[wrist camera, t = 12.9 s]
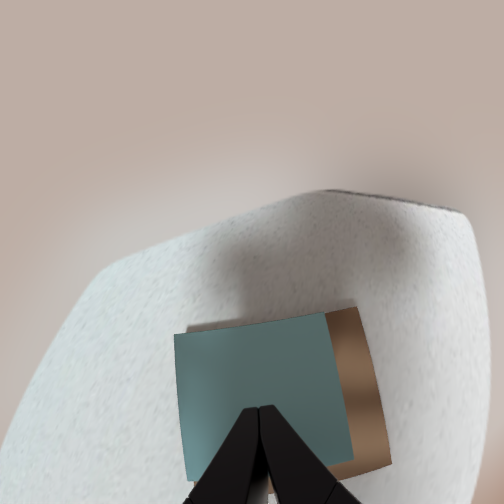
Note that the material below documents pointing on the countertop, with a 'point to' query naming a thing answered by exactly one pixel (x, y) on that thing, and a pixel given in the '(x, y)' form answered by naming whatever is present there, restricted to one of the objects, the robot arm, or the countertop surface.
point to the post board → (357, 397)
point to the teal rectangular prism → (260, 386)
